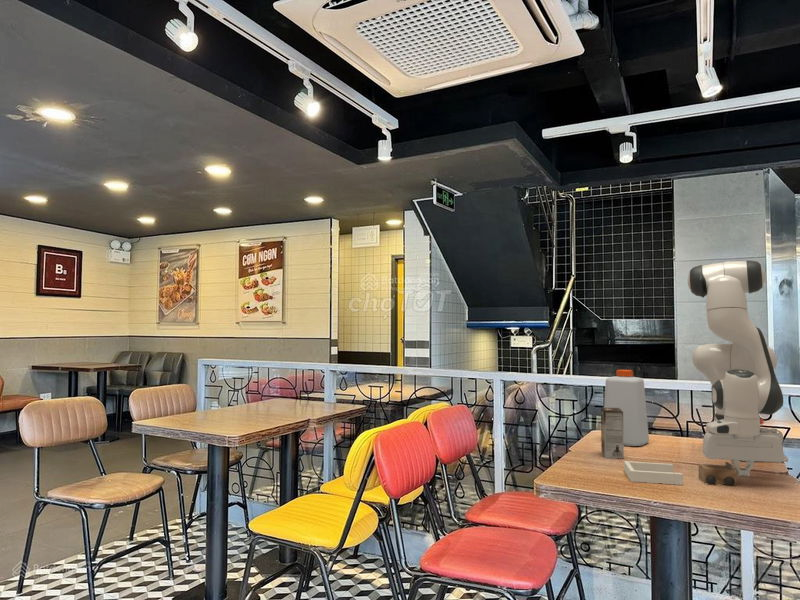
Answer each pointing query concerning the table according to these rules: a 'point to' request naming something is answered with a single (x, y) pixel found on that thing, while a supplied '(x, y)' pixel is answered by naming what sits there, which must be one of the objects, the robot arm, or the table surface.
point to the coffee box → (612, 433)
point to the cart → (717, 474)
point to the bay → (652, 473)
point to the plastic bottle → (629, 405)
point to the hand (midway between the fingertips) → (743, 476)
